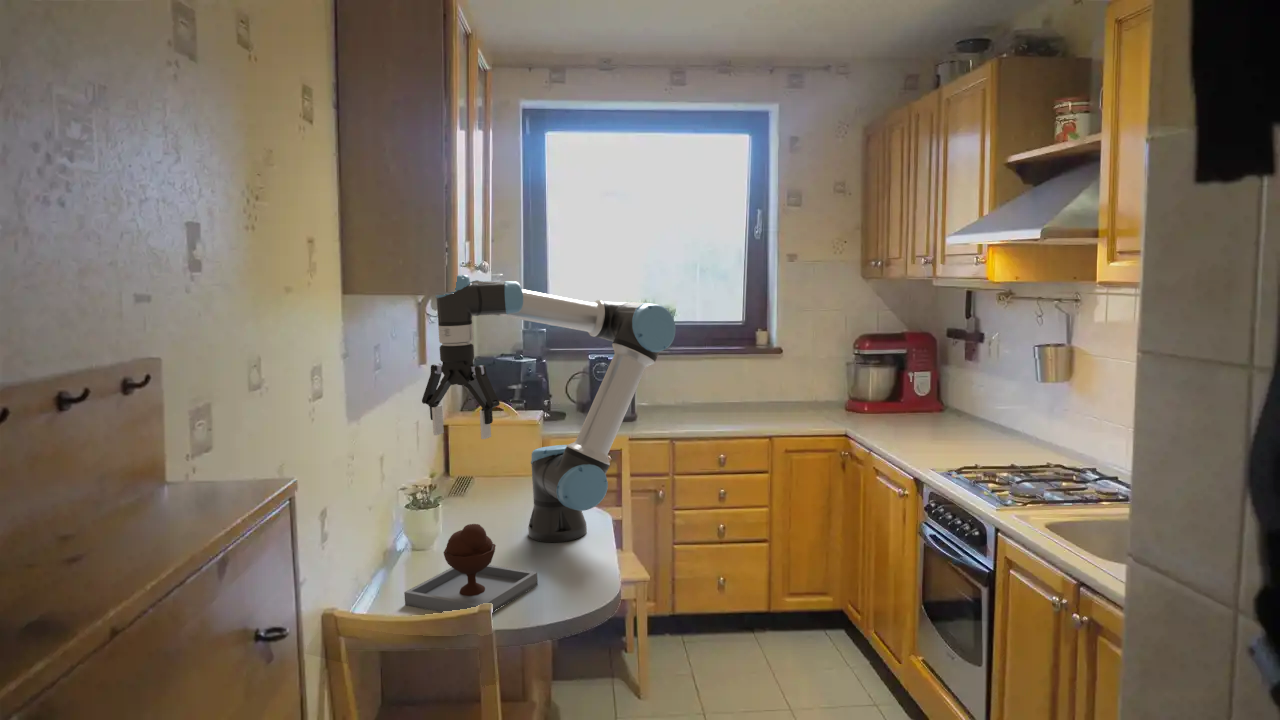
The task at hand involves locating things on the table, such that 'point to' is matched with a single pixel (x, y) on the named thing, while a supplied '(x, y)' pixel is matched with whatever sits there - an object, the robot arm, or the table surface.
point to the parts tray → (498, 591)
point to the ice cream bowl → (470, 555)
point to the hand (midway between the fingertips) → (462, 436)
